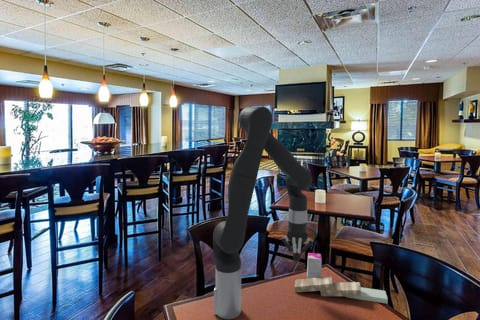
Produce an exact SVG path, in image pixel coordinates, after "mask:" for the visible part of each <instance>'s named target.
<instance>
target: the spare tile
mask: <svg viewBox="0 0 480 320" xmlns="http://www.w3.org/2000/svg"><path fill="white" fill-rule="evenodd" d="M360 288H361V296H345V297H346V298H349V299H356V300H361V301H369V302H374V303H381V304H386V305H387V304H388V300H389V299H388V295H387V292H386V290H382V289H377V288H376V289H375V288H368V287H363V286H362V287H361V286H360Z"/></svg>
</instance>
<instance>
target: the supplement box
mask: <svg viewBox="0 0 480 320" xmlns="http://www.w3.org/2000/svg"><path fill="white" fill-rule="evenodd" d="M322 260H323V259H322V254H321V253H314V252H308V253H307V265H306V279H308V278H318V277H322V263H323V262H322Z"/></svg>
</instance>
